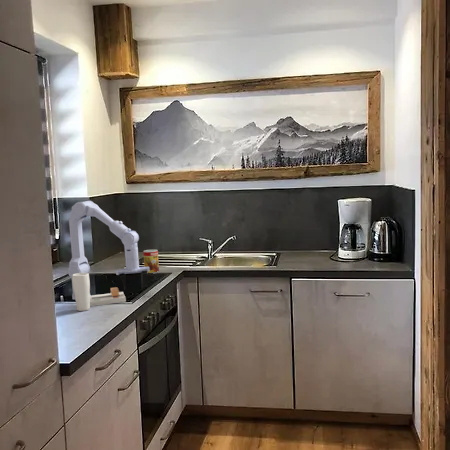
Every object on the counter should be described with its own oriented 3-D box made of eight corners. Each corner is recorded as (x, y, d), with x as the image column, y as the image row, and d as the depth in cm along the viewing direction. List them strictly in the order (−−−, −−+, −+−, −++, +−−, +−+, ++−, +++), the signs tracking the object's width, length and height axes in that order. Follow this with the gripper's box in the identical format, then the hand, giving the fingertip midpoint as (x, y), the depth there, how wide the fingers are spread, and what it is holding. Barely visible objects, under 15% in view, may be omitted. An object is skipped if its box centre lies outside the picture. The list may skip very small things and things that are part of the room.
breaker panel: (86, 300, 238) (86, 295, 238) (123, 296, 243) (122, 291, 243) (87, 306, 228) (87, 301, 228) (125, 301, 232) (125, 296, 232)
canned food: (156, 273, 291) (155, 251, 290) (142, 273, 293) (141, 252, 291) (161, 270, 299) (159, 249, 297) (147, 270, 300) (146, 249, 299)
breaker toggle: (111, 293, 238) (110, 288, 238) (117, 293, 239) (117, 287, 239) (112, 296, 233) (111, 290, 233) (118, 295, 234) (118, 289, 234)
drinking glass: (93, 307, 226) (90, 272, 224) (89, 311, 219) (86, 275, 218) (77, 308, 226) (74, 273, 224) (73, 312, 219) (70, 276, 218)
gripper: (116, 261, 231) (118, 292, 233) (149, 258, 235) (151, 288, 237) (114, 259, 238) (116, 289, 239) (147, 256, 242) (149, 285, 243)
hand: (134, 289), depth 239 cm, fingers open, 7 cm apart
